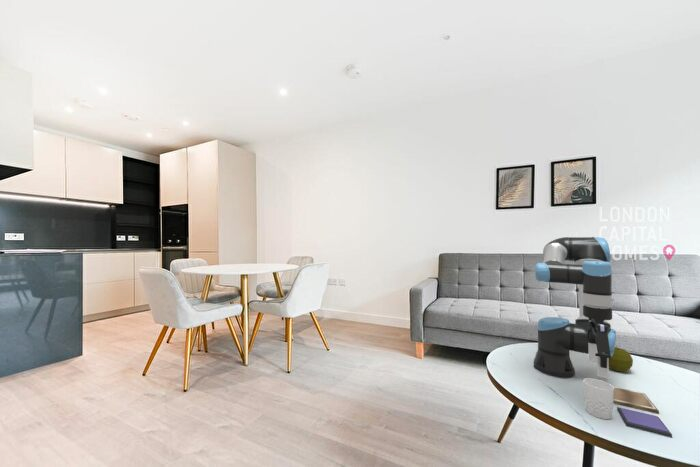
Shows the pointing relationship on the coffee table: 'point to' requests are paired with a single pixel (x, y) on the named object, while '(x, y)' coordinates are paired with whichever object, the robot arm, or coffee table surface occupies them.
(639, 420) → the ink pad
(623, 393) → the brown square coaster
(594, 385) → the white cup
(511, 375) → the coffee table surface
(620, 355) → the apple
